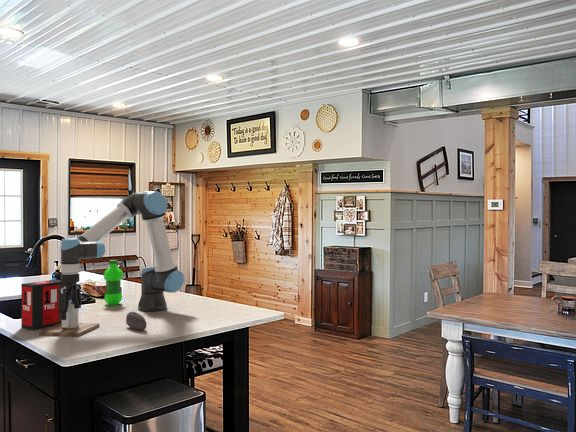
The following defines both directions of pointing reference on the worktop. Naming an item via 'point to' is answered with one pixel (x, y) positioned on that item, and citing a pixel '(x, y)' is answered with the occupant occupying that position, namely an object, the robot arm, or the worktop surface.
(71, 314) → the flask
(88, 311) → the worktop surface
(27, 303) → the cleaning product box
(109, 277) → the plastic bottle
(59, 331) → the walnut board
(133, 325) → the perforated stone tool
